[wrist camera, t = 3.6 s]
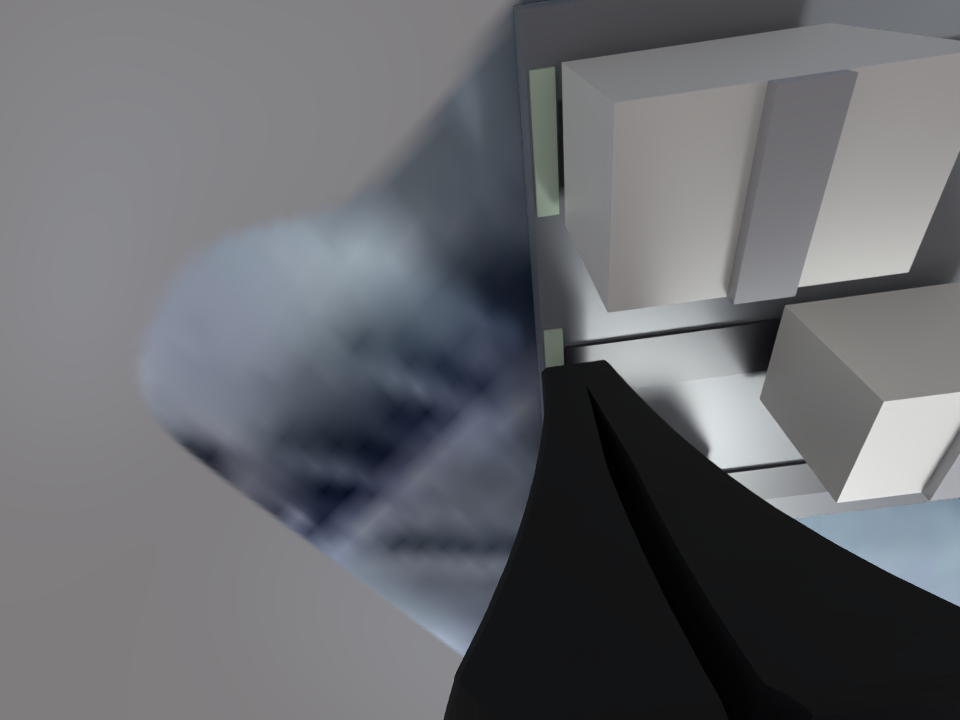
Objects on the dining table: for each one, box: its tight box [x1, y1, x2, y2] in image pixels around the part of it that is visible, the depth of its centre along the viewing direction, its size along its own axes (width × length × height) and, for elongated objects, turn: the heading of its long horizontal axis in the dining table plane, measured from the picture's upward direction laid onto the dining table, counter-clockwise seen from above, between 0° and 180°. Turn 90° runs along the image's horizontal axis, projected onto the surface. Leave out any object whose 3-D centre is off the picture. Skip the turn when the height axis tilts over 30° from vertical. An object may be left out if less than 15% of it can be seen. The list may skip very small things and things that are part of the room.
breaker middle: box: [760, 282, 960, 503], centre depth 10 cm, size 3×4×3 cm, turn 97°
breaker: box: [562, 23, 960, 313], centre depth 7 cm, size 3×4×3 cm, turn 97°
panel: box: [513, 0, 960, 519], centre depth 12 cm, size 14×14×1 cm
